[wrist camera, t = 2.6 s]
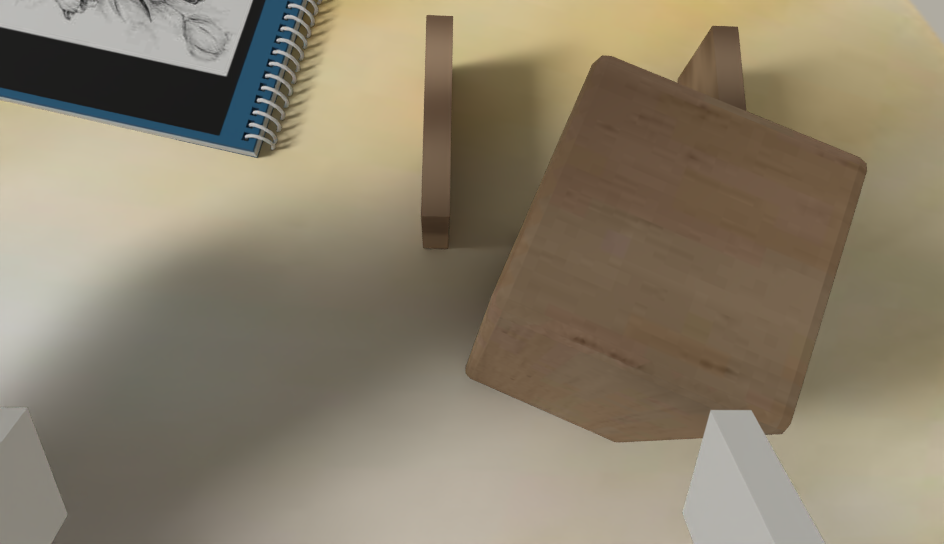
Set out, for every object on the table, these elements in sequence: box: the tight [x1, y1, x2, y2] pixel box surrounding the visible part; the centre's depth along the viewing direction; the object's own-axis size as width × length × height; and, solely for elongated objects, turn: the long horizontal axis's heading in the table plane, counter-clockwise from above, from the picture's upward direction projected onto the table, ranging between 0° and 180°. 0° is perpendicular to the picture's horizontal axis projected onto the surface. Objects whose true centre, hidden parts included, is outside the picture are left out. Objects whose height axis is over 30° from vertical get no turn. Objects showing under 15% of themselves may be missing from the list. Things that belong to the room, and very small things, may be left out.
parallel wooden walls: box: [421, 15, 746, 249], centre depth 42 cm, size 12×18×6 cm, turn 90°
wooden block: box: [466, 56, 867, 442], centre depth 32 cm, size 10×10×20 cm
